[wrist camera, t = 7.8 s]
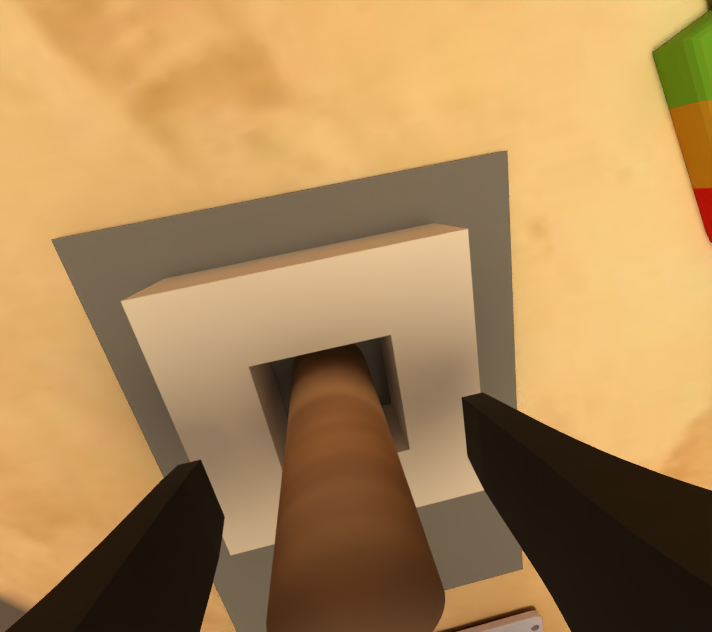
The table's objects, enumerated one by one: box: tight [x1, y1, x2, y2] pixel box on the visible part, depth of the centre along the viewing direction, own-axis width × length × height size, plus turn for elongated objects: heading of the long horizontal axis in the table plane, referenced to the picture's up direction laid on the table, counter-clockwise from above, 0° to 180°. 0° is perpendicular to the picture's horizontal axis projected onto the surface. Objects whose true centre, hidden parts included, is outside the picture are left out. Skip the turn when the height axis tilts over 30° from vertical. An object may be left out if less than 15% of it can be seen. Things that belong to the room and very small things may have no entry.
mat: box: [52, 151, 523, 632], centre depth 16 cm, size 22×16×1 cm
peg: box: [266, 343, 445, 632], centre depth 10 cm, size 3×3×9 cm
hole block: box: [121, 223, 484, 555], centre depth 13 cm, size 10×10×3 cm
